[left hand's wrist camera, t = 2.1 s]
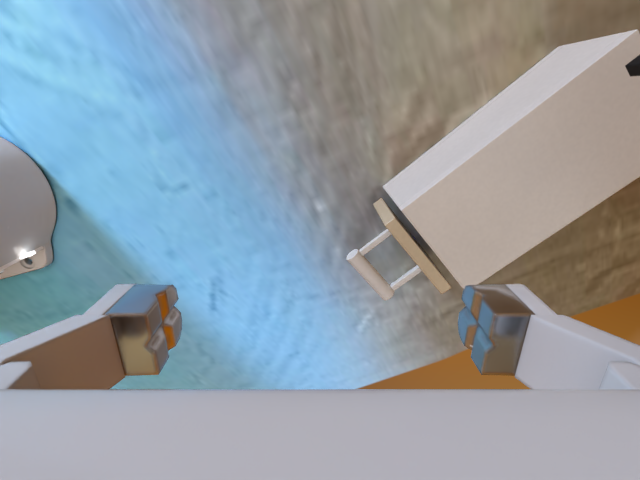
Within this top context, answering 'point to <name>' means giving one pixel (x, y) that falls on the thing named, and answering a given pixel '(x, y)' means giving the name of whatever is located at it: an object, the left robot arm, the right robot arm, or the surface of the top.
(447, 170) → the cabinet
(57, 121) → the top surface
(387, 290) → the drawer
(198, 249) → the top surface
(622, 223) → the top surface
